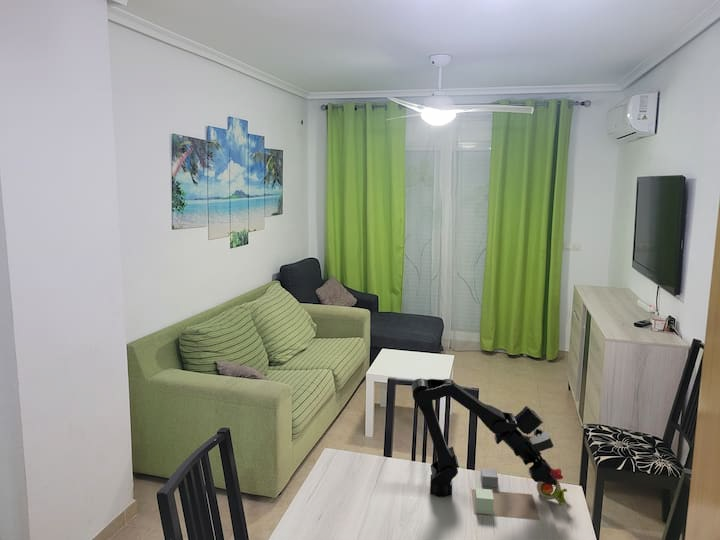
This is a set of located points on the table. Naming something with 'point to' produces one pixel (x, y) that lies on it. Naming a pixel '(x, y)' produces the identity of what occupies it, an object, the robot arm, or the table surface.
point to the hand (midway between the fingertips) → (551, 476)
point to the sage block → (484, 501)
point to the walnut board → (512, 505)
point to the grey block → (489, 477)
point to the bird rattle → (547, 489)
